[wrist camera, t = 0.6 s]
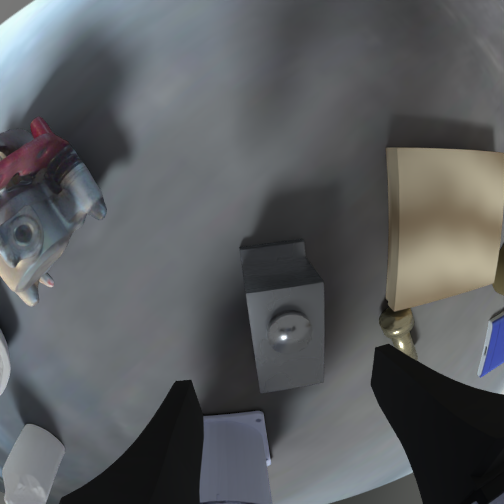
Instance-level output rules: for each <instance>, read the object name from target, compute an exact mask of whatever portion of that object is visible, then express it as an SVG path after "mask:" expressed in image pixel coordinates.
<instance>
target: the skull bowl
mask: <svg viewBox="0 0 504 504" xmlns="http://www.w3.org/2000/svg"><path fill="white" fill-rule="evenodd" d="M10 371H11V364H10V356H9V350H8V345H7V342H6V340H5V337H4V335H3V333H2V331H1V329H0V395H1V394H2V393H3V391H4V389H5V388H6V386H7V383H8V380H9V377H10Z"/></svg>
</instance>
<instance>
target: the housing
mask: <svg viewBox="0 0 504 504" xmlns="http://www.w3.org/2000/svg"><path fill="white" fill-rule="evenodd" d="M240 254H241V262H242V269H243V277H244V284H245V291H246V298H247V306H248V313H249V320H250V327H251V334H252V341H253V348H254V354H255V361H256V368H257V375H258V382H259V388H260V393H267V392H274V391H280V390H286V389H292V388H298V387H303V386H308V385H313V384H318V383H323V382H324V282H323V280H322V279H321V278H320V276H319V275H318V273H317V272H316V271H315V269H314V268H313V267H312V265H311V264H310V262H309V261H308V260H307V258H306V257H305V242H304V241H303V239H297V240H289V241H282V242H274V243H267V244H259V245H252V246H244V247H240Z"/></svg>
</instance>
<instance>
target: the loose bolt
mask: <svg viewBox="0 0 504 504" xmlns="http://www.w3.org/2000/svg"><path fill="white" fill-rule="evenodd" d="M379 324H380V326H381V328H382V331H383V333H384V335H385V336H387V337H389V338H391V339H392V341H393V344H394V346H395V348H397V349H398V350H400V351H402V352H403V353H405V354H406V355H408V356H410V357H411V358H413V359H415V360H416V361H417V359H418V356H417V353H416V350H415V347H414V344H413V341H412V338H411V335H410V332H409V331H410V330H411V329H412V328H413V325H414V318H413V315H412V312H411V309H410V308H407V309H403V310H399V311H395V312H394V311H393V310H392V309H391V308H390V307H389V308H387V309H386V310H385V311H384V312H383V313H382V314H381V316H380V318H379Z"/></svg>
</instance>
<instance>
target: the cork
mask: <svg viewBox="0 0 504 504" xmlns="http://www.w3.org/2000/svg"><path fill="white" fill-rule="evenodd" d="M493 288H494V290H495V291H496V292H497V293H499V294H501V295H504V245H503V246H502V248H501V249H500V251H499V256H498V262H497V269H496V274H495V280H494V283H493Z"/></svg>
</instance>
